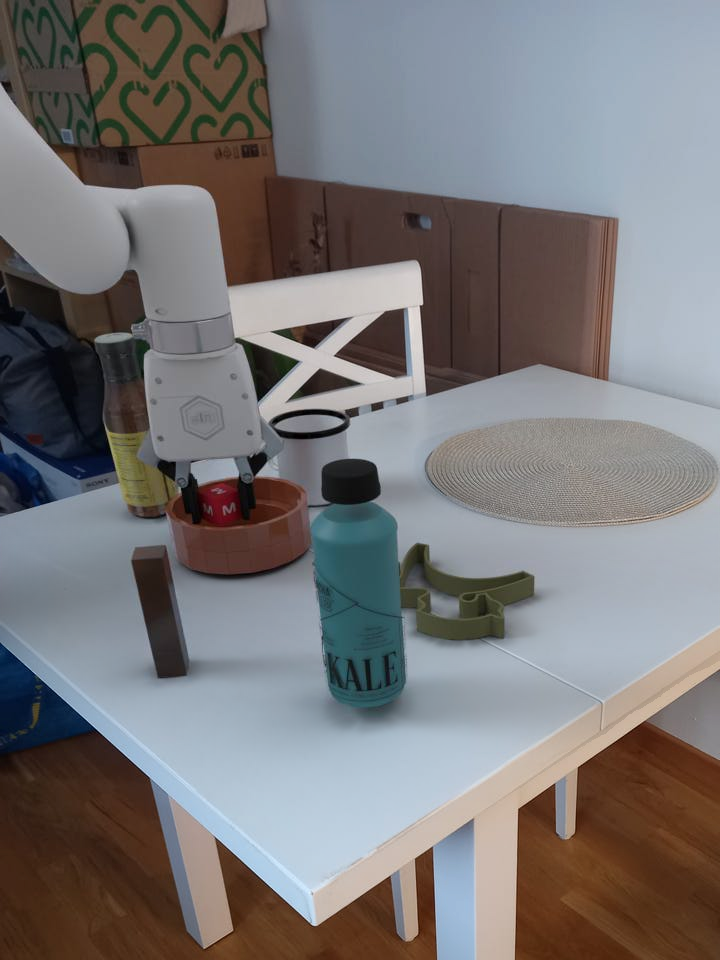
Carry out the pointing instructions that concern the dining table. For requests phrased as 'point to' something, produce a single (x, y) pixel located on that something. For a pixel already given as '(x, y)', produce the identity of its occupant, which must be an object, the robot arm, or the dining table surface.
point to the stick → (160, 610)
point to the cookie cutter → (462, 599)
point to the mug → (309, 447)
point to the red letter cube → (220, 504)
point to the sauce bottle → (130, 427)
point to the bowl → (244, 530)
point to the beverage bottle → (358, 587)
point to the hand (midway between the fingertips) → (222, 515)
